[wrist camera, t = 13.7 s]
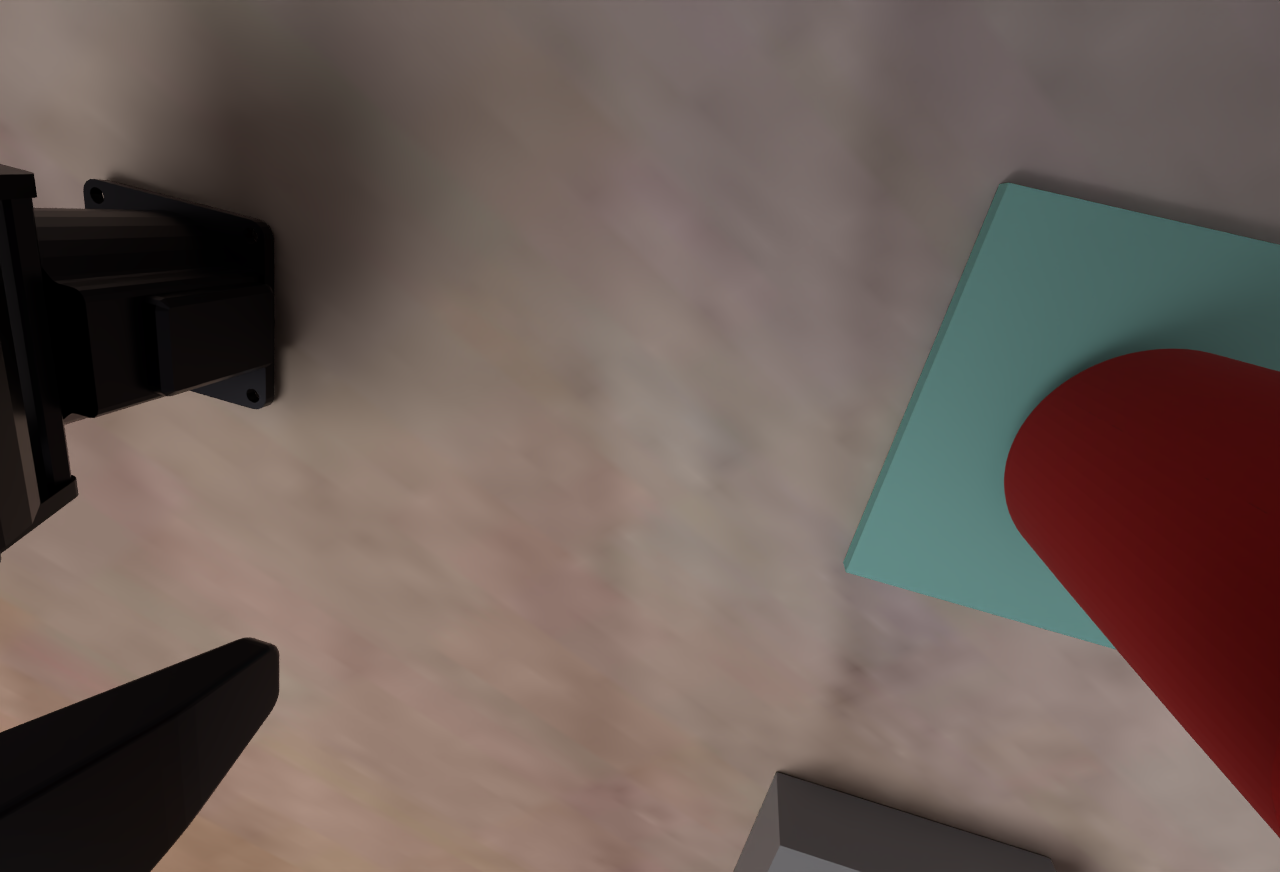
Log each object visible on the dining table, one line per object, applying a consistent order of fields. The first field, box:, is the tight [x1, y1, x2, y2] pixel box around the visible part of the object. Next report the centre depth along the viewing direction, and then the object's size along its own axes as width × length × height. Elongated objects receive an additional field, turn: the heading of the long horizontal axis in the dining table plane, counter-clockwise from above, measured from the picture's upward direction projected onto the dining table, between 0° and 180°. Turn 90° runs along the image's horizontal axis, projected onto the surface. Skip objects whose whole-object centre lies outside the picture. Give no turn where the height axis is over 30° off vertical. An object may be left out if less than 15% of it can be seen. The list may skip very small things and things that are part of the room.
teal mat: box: [843, 183, 1280, 650], centre depth 17 cm, size 12×12×1 cm
